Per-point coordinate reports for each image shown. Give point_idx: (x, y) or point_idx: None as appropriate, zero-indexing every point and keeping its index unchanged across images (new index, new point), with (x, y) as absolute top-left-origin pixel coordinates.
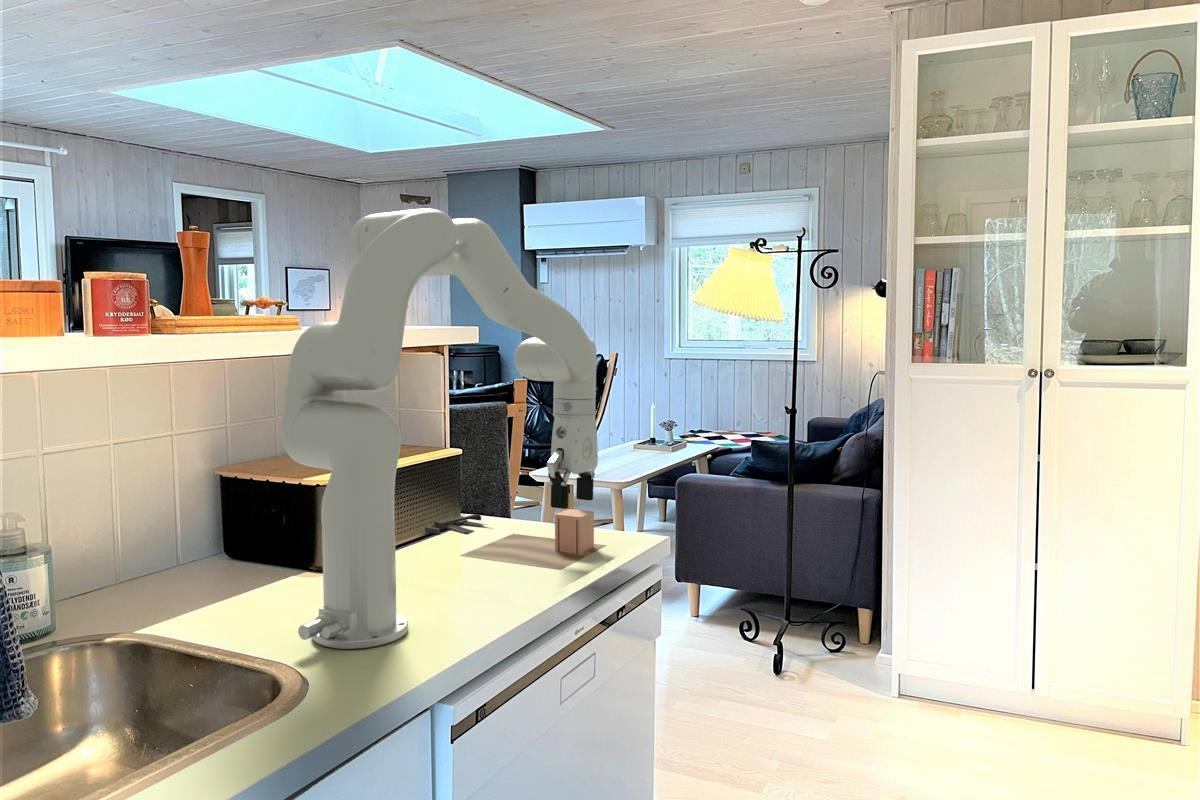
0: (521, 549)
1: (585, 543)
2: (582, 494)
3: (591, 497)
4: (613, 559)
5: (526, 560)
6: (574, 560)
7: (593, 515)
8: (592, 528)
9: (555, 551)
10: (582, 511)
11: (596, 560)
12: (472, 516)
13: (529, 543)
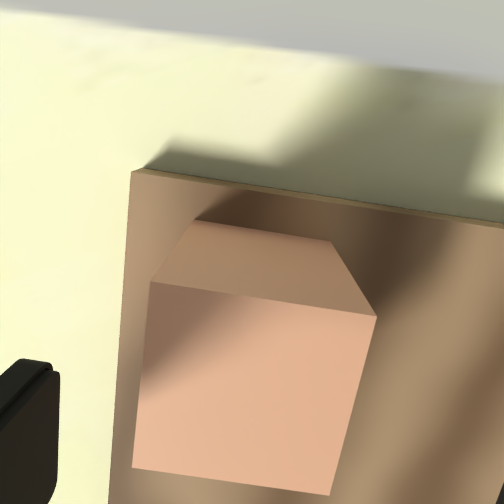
0: None
1: (284, 244)
2: (33, 473)
3: (38, 375)
4: (231, 104)
5: (485, 413)
6: (449, 233)
7: (166, 272)
8: (194, 248)
9: None
10: (175, 362)
11: (272, 176)
12: None
13: (225, 483)
